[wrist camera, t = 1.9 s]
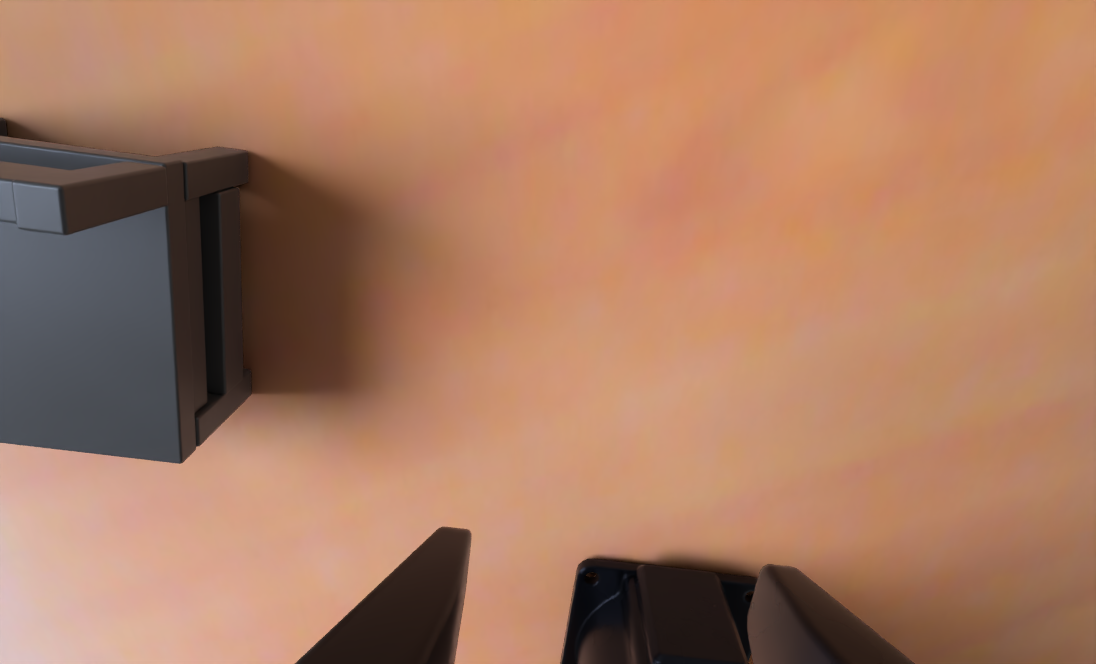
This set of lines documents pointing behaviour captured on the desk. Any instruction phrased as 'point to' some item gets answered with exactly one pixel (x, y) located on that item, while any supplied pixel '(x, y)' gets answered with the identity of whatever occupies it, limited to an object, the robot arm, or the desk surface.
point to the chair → (119, 298)
